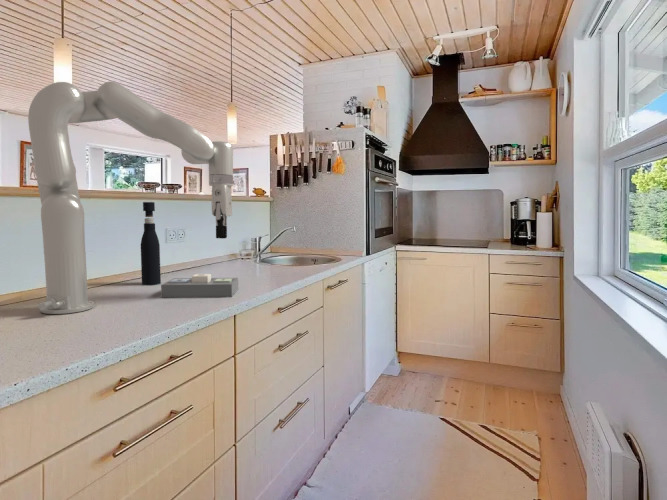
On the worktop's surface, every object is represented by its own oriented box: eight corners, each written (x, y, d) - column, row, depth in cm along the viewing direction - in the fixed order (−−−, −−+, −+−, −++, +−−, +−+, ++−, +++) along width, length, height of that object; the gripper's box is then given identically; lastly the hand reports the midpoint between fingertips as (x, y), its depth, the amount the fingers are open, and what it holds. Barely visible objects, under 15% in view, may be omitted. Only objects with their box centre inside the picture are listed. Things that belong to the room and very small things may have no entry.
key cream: (207, 285, 136) (207, 275, 136) (191, 285, 136) (191, 276, 136) (211, 282, 141) (211, 273, 141) (196, 282, 141) (195, 273, 141)
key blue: (185, 290, 136) (185, 281, 136) (169, 290, 136) (169, 281, 135) (190, 287, 141) (189, 278, 141) (174, 287, 141) (174, 278, 140)
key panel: (231, 296, 133) (231, 284, 133) (161, 297, 132) (161, 284, 131) (238, 289, 146) (238, 277, 146) (174, 289, 145) (174, 278, 144)
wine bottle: (163, 283, 156) (161, 202, 153) (146, 285, 152) (143, 201, 149) (156, 281, 161) (153, 202, 158) (139, 283, 156) (136, 202, 153)
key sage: (229, 290, 137) (229, 280, 137) (214, 290, 137) (213, 280, 136) (232, 287, 142) (232, 278, 142) (217, 287, 142) (217, 278, 141)
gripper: (228, 179, 129) (228, 239, 130) (236, 183, 144) (236, 237, 145) (203, 179, 128) (204, 239, 130) (214, 182, 143) (214, 236, 145)
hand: (221, 238), depth 137 cm, fingers closed
